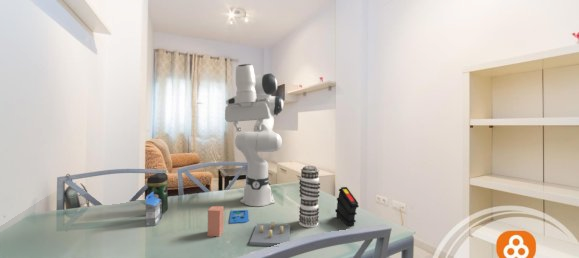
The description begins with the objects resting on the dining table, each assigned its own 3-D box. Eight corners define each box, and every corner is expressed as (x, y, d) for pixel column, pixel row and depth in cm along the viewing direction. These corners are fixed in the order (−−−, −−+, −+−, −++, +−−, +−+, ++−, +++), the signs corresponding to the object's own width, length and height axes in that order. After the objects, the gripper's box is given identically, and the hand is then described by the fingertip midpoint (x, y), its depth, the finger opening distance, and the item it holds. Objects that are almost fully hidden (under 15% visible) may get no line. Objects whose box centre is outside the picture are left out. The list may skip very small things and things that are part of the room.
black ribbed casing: (339, 210, 119) (346, 186, 112) (352, 232, 108) (361, 207, 101) (332, 211, 118) (339, 186, 111) (344, 233, 106) (354, 207, 100)
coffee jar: (153, 208, 120) (153, 171, 120) (169, 208, 121) (170, 171, 121) (143, 216, 111) (144, 175, 110) (161, 216, 112) (162, 175, 111)
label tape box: (155, 225, 101) (155, 196, 101) (144, 226, 100) (145, 196, 100) (162, 217, 109) (162, 190, 109) (152, 218, 109) (152, 191, 108)
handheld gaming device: (229, 222, 104) (231, 209, 119) (229, 224, 104) (231, 212, 119) (248, 221, 106) (248, 209, 121) (248, 223, 106) (248, 211, 121)
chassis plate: (257, 226, 102) (257, 217, 102) (290, 227, 102) (290, 218, 102) (249, 245, 86) (249, 235, 86) (288, 246, 86) (288, 236, 86)
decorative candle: (293, 222, 107) (295, 166, 107) (308, 217, 113) (310, 164, 112) (308, 229, 100) (309, 169, 100) (323, 224, 106) (324, 167, 105)
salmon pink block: (211, 231, 97) (212, 206, 97) (223, 231, 97) (223, 206, 97) (207, 236, 93) (207, 210, 92) (219, 236, 92) (219, 210, 92)
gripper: (271, 98, 110) (273, 129, 109) (228, 102, 113) (230, 132, 113) (267, 96, 103) (269, 128, 103) (222, 101, 107) (224, 132, 106)
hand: (248, 130), depth 108 cm, fingers open, 8 cm apart
